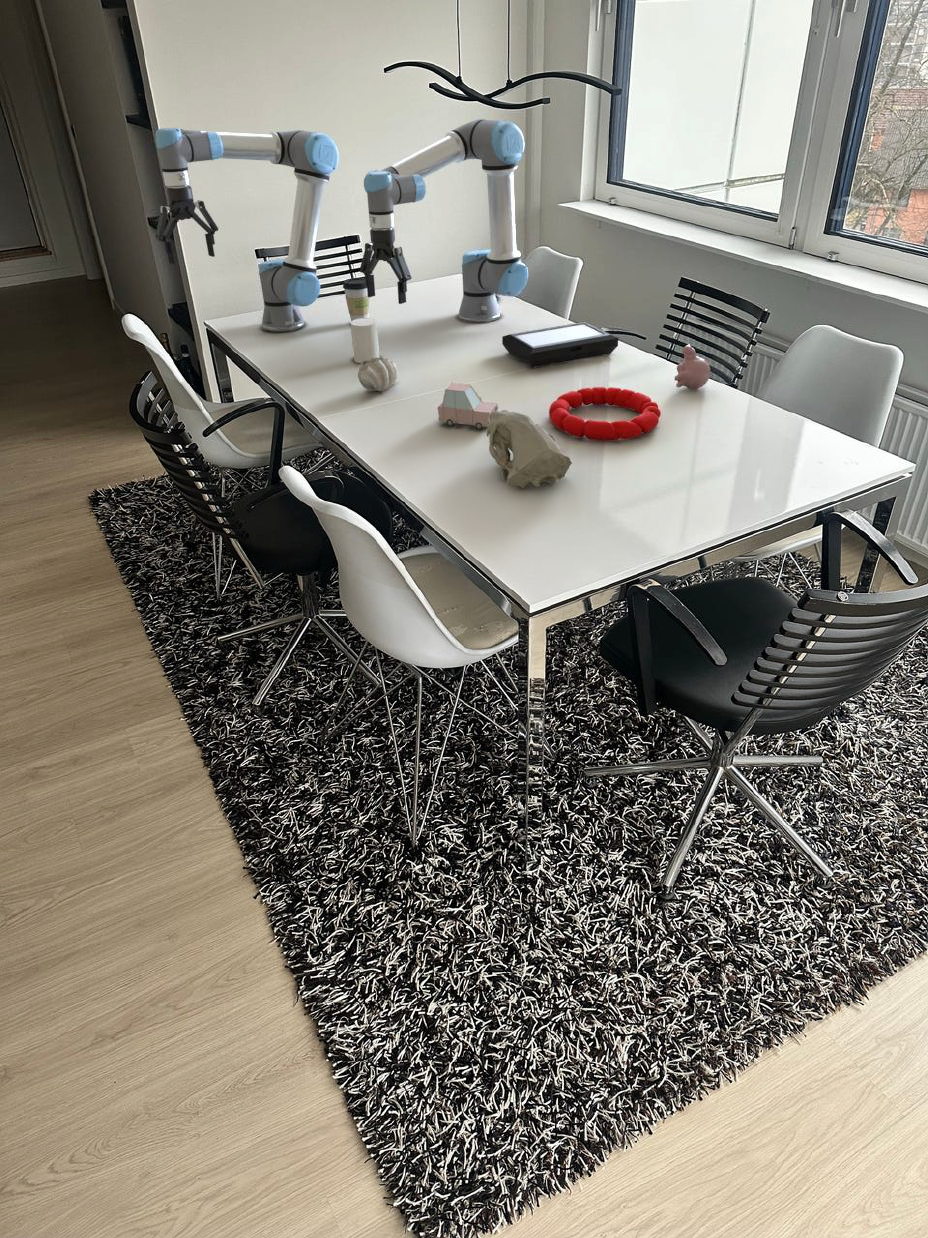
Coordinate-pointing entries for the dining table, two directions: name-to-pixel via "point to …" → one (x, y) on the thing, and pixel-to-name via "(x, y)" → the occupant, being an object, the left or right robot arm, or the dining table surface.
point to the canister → (364, 339)
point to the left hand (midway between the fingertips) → (192, 259)
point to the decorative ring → (604, 428)
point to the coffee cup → (356, 298)
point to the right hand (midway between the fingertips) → (386, 299)
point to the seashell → (377, 374)
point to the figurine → (692, 370)
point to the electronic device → (559, 344)
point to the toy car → (465, 406)
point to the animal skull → (525, 450)
